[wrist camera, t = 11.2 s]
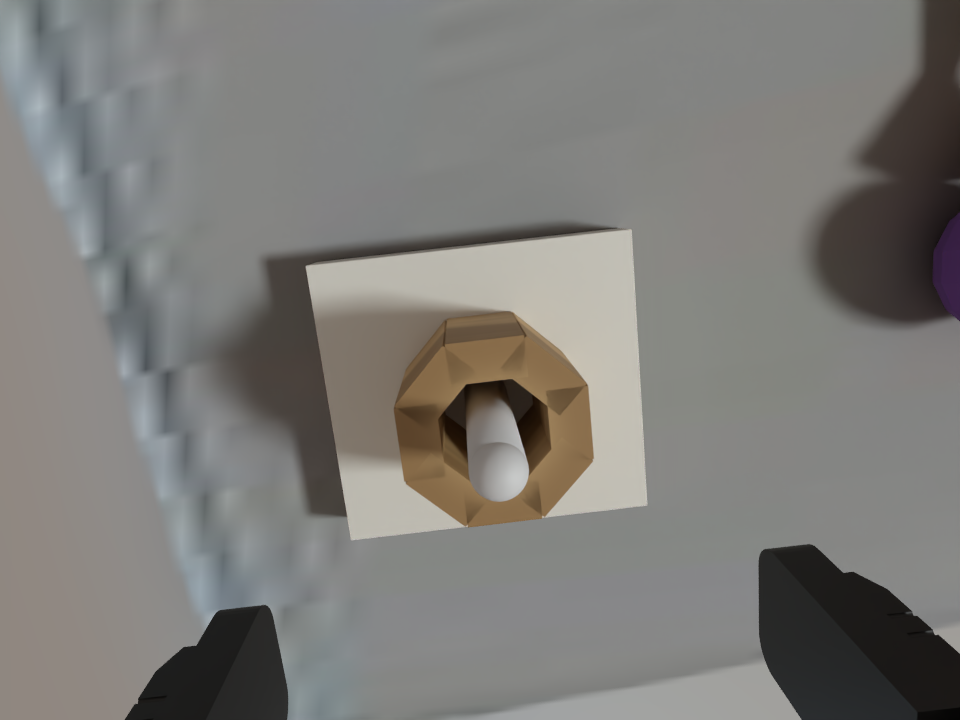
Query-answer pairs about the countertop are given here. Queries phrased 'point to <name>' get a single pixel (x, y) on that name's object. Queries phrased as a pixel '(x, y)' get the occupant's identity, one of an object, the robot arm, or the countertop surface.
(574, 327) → the ring peg stand
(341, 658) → the countertop surface
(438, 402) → the bead
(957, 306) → the kendama
